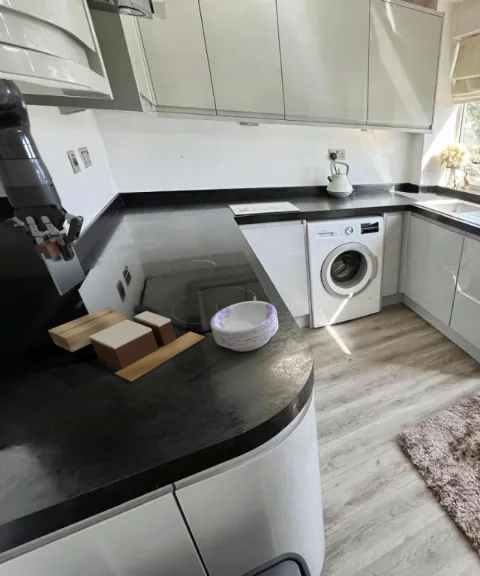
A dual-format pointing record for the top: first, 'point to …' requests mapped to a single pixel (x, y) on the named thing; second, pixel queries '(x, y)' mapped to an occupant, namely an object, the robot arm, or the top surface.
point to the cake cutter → (60, 265)
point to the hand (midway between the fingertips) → (62, 260)
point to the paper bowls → (245, 325)
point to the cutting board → (159, 356)
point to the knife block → (85, 328)
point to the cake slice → (157, 327)
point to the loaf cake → (124, 343)
